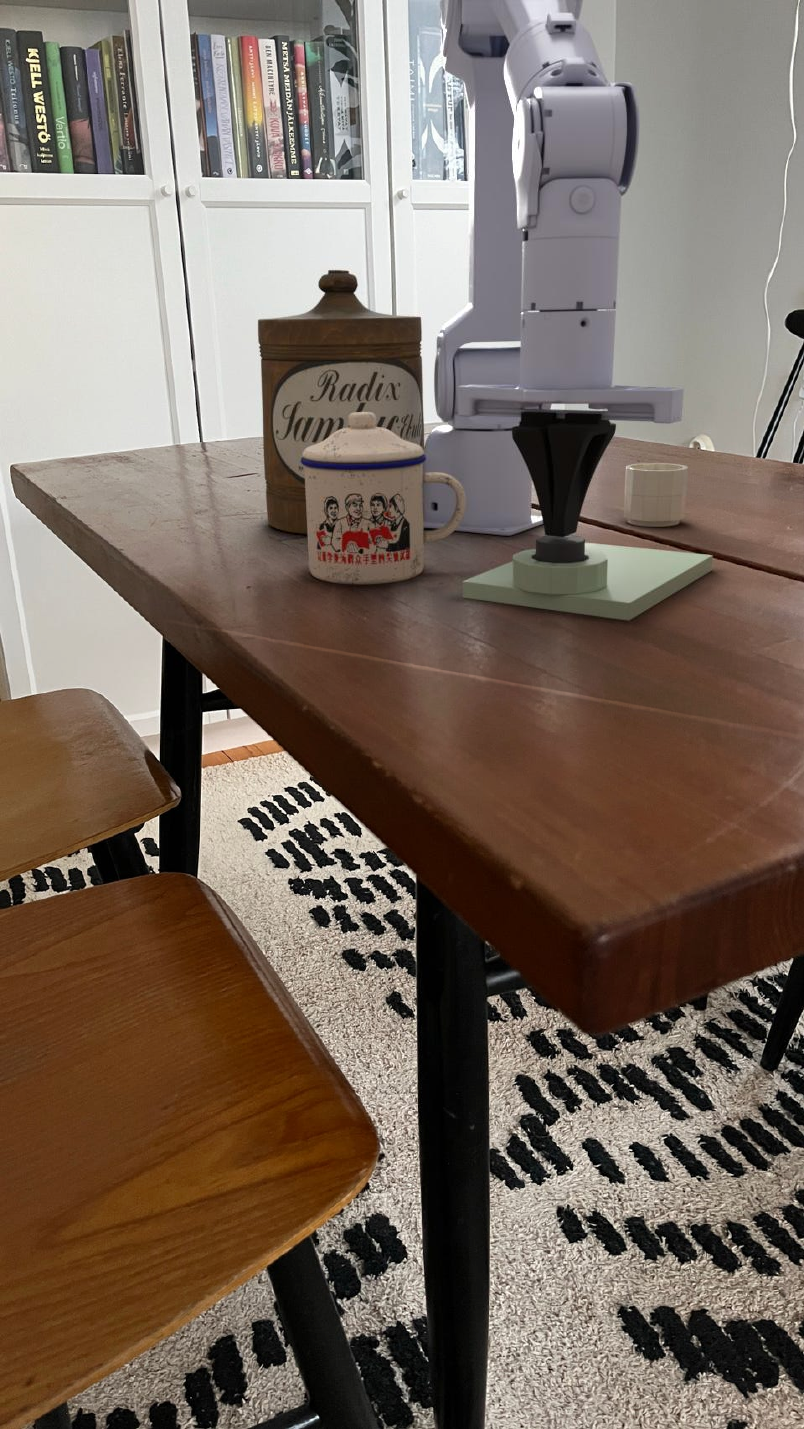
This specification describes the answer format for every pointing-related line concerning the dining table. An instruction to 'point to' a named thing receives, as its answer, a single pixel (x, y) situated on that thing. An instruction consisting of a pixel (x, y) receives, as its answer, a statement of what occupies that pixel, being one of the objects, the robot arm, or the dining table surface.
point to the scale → (591, 580)
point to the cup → (655, 494)
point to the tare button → (560, 549)
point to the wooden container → (332, 385)
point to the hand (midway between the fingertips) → (560, 533)
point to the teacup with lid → (369, 505)
